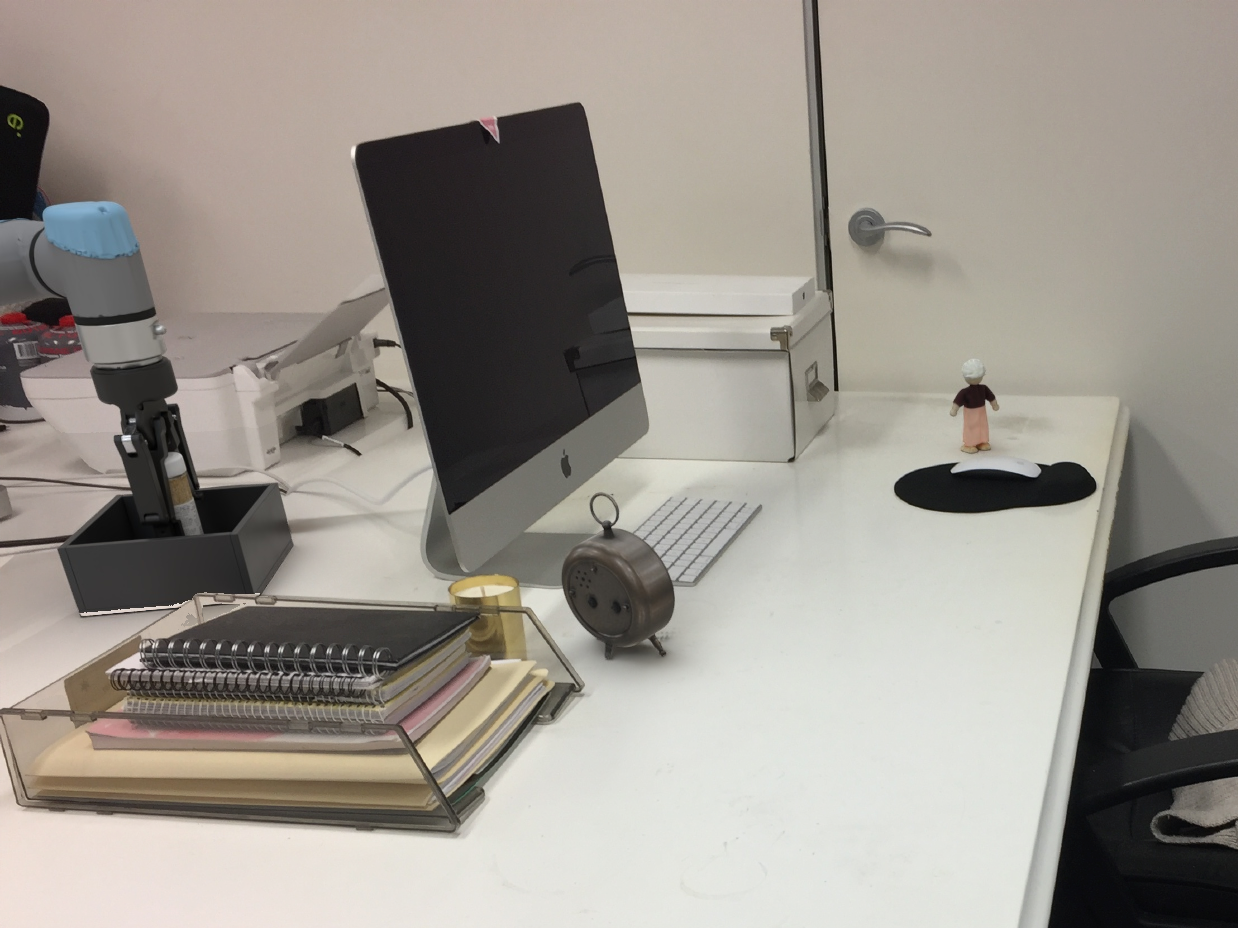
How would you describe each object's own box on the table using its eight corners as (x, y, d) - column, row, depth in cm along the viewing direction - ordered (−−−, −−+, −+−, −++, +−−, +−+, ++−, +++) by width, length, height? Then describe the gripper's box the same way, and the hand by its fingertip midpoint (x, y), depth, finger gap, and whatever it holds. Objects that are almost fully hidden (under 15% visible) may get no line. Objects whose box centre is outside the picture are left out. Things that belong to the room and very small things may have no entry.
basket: (80, 617, 139) (56, 548, 135) (136, 558, 154) (116, 494, 150) (256, 601, 141) (237, 533, 138) (293, 544, 157) (277, 482, 153)
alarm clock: (684, 652, 127) (666, 492, 120) (647, 674, 123) (626, 510, 116) (600, 630, 132) (577, 475, 125) (562, 650, 128) (536, 492, 121)
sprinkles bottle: (175, 567, 149) (140, 452, 143) (218, 562, 150) (186, 448, 144) (165, 582, 145) (129, 464, 139) (209, 577, 146) (176, 460, 140)
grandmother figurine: (984, 441, 188) (984, 352, 182) (1002, 446, 185) (1003, 356, 179) (943, 452, 183) (942, 361, 178) (961, 458, 181) (961, 366, 175)
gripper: (138, 378, 129) (202, 595, 140) (193, 339, 145) (247, 537, 156) (56, 383, 128) (127, 602, 139) (120, 344, 144) (179, 542, 154)
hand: (190, 567), depth 147 cm, fingers open, 5 cm apart
